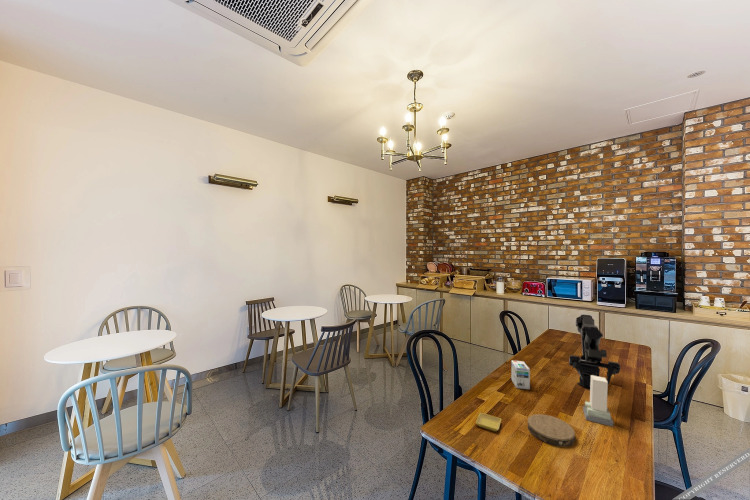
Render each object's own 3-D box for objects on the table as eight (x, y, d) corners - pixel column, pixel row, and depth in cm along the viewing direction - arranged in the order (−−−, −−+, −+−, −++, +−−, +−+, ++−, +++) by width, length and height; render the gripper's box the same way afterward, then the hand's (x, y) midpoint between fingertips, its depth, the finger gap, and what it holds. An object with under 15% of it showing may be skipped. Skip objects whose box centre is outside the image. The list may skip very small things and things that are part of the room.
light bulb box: (530, 389, 148) (530, 368, 148) (516, 388, 149) (516, 367, 149) (523, 380, 158) (524, 361, 158) (510, 379, 159) (510, 359, 159)
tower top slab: (585, 406, 129) (585, 401, 129) (606, 411, 125) (606, 405, 125) (588, 415, 122) (588, 409, 122) (610, 420, 119) (610, 414, 119)
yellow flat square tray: (498, 435, 112) (498, 429, 112) (475, 427, 117) (475, 422, 117) (501, 423, 119) (501, 418, 119) (480, 417, 124) (480, 412, 124)
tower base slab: (583, 411, 130) (583, 405, 130) (608, 417, 125) (608, 411, 125) (586, 421, 122) (586, 415, 122) (613, 428, 117) (613, 422, 117)
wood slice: (520, 420, 121) (520, 413, 121) (558, 421, 121) (558, 414, 121) (540, 446, 105) (541, 438, 105) (585, 448, 105) (585, 439, 105)
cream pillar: (589, 403, 127) (590, 375, 127) (604, 406, 124) (605, 377, 124) (591, 408, 122) (592, 379, 122) (606, 412, 120) (607, 382, 120)
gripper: (569, 338, 139) (571, 369, 129) (619, 345, 129) (625, 379, 120) (568, 349, 146) (569, 380, 136) (615, 357, 136) (620, 390, 127)
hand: (595, 382), depth 130 cm, fingers open, 9 cm apart
